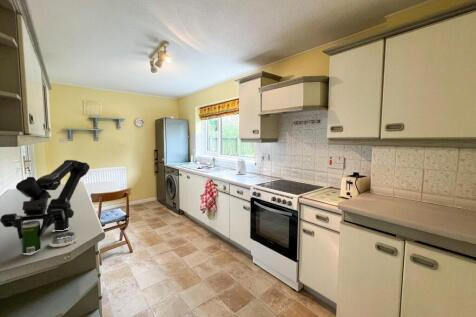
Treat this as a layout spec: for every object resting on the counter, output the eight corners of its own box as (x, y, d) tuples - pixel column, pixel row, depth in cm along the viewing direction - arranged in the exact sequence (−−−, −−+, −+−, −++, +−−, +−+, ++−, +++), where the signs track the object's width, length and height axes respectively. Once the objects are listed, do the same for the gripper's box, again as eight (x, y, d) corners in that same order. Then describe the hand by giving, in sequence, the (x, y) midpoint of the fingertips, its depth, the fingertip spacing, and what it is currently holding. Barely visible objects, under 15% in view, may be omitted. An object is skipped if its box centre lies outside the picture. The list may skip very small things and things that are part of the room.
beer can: (41, 252, 86) (41, 222, 85) (22, 257, 82) (21, 226, 81) (40, 248, 90) (39, 219, 89) (21, 252, 86) (20, 222, 85)
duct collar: (52, 240, 97) (52, 233, 97) (79, 236, 102) (79, 229, 102) (45, 249, 89) (45, 242, 88) (76, 244, 93) (76, 237, 93)
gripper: (1, 194, 84) (-13, 232, 74) (62, 190, 93) (57, 224, 83) (10, 209, 91) (-1, 245, 82) (66, 204, 100) (62, 236, 91)
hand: (30, 237), depth 84 cm, fingers closed on beer can, 5 cm apart
